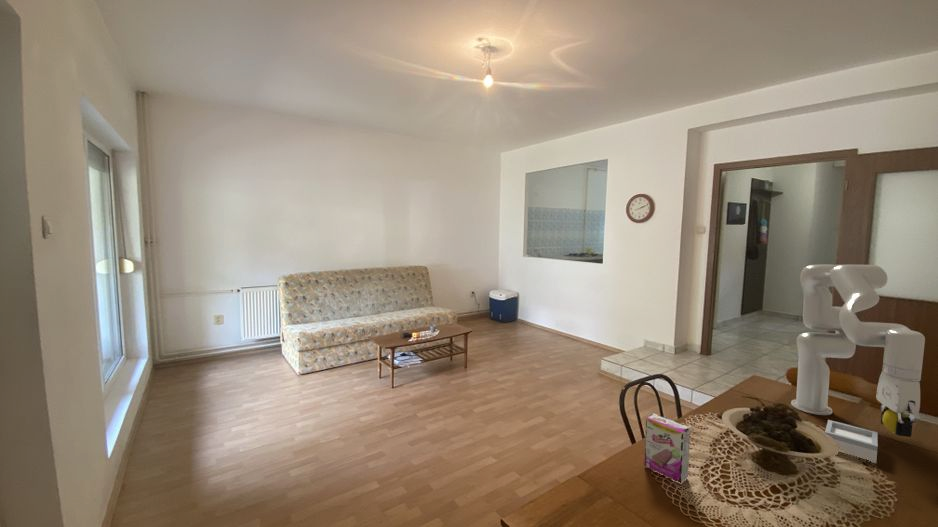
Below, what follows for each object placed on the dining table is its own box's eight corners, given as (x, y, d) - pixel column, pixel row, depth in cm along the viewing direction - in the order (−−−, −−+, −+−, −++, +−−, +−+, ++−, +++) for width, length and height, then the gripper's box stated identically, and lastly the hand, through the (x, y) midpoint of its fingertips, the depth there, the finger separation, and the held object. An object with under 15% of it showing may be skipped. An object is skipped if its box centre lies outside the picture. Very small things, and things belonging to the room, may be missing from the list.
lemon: (900, 430, 115) (902, 405, 114) (914, 440, 110) (917, 414, 109) (876, 427, 117) (878, 402, 116) (889, 437, 112) (892, 411, 111)
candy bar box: (643, 468, 118) (644, 417, 117) (651, 462, 121) (653, 412, 120) (681, 487, 109) (683, 432, 108) (688, 480, 112) (691, 426, 111)
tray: (827, 434, 136) (828, 419, 135) (876, 448, 127) (877, 432, 127) (823, 447, 128) (825, 431, 127) (876, 463, 119) (877, 446, 119)
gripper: (866, 360, 121) (861, 414, 123) (905, 381, 105) (899, 443, 107) (897, 362, 118) (891, 418, 120) (942, 385, 102) (935, 448, 104)
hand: (895, 429), depth 113 cm, fingers closed on lemon, 5 cm apart
